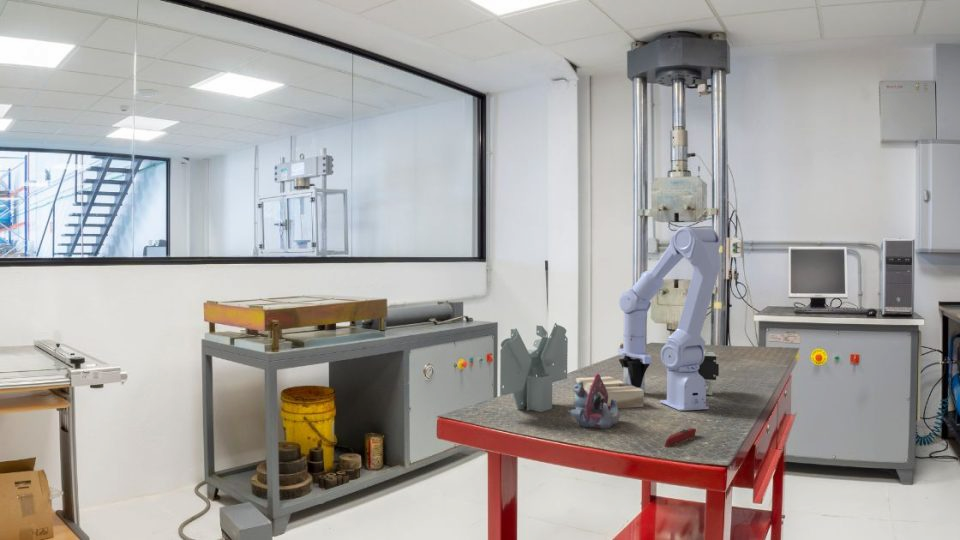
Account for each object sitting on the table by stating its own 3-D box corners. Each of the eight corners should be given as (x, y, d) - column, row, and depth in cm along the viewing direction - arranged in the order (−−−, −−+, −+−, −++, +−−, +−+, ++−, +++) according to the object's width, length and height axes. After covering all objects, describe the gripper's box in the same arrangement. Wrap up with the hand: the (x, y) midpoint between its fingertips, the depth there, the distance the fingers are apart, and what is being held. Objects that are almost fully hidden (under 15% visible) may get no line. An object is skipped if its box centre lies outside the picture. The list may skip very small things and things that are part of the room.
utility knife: (692, 435, 126) (692, 425, 126) (697, 436, 125) (697, 427, 125) (662, 447, 118) (662, 437, 118) (667, 448, 117) (667, 438, 117)
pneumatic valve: (697, 397, 160) (697, 352, 159) (695, 388, 171) (695, 346, 171) (719, 399, 158) (720, 353, 158) (716, 390, 169) (716, 347, 169)
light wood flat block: (643, 406, 150) (643, 390, 150) (606, 408, 147) (606, 392, 147) (610, 391, 167) (610, 376, 167) (576, 392, 165) (576, 378, 165)
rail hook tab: (644, 393, 164) (644, 367, 164) (627, 394, 163) (627, 368, 163) (639, 391, 166) (640, 366, 166) (623, 392, 165) (623, 367, 165)
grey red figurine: (616, 423, 125) (584, 372, 129) (577, 447, 130) (547, 398, 134) (636, 412, 135) (605, 365, 139) (598, 435, 140) (570, 390, 144)
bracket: (554, 396, 161) (555, 320, 160) (578, 400, 156) (578, 322, 156) (487, 416, 140) (488, 328, 139) (511, 421, 135) (512, 331, 135)
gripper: (608, 332, 170) (608, 381, 171) (634, 339, 156) (633, 392, 156) (631, 332, 172) (630, 380, 172) (659, 339, 158) (658, 391, 158)
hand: (633, 386), depth 165 cm, fingers closed on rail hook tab, 2 cm apart
